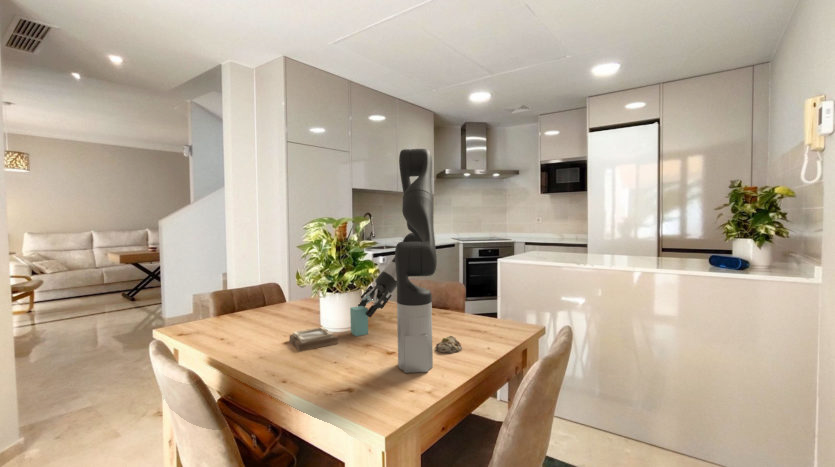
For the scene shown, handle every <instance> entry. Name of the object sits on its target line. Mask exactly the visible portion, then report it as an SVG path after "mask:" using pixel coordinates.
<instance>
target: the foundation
mask: <svg viewBox="0 0 835 467" xmlns="http://www.w3.org/2000/svg"><path fill="white" fill-rule="evenodd" d="M289 342H290V343H291V344H292V345H293V347H295V348H296V349H297V350H298V351H299V352H304V351H308V350H312V349H313V350H314V349H317V348H323V347H328V346H333V345H338V344H339V337H337V336H336V335H335V334H334V333H332V331H329V330H328V329H327V328H325V327H323V326H322V327H321V326H320V327H315V328H309V329H305V330H304V329H303V330H298V331H293V333H292V334H289Z"/></svg>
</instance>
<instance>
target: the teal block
mask: <svg viewBox="0 0 835 467" xmlns="http://www.w3.org/2000/svg"><path fill="white" fill-rule="evenodd" d="M357 306H358V305H357ZM357 306H352V307H350V310H349V311H350V313H349V314H350V334H351V333H352V335H353V336H355V337H361V336H366V335H369V317H368V316H367V315H366V312H367V311H368V309H369V308H368V307H366V306H365V307H364V306H358V307H357Z"/></svg>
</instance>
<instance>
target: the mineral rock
mask: <svg viewBox="0 0 835 467" xmlns="http://www.w3.org/2000/svg"><path fill="white" fill-rule="evenodd" d="M435 349H436V351H439V352H440V353H449V354H455V353H458V352H462V349H463V347H462V345H461V343H460V342H459V341H458V340H457V338H456V337H454V336H453V335H452V336H451V335H450V336H447V337H443V338H442V339H441V341H439V342H438V343H436V344H435Z"/></svg>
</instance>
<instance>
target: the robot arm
mask: <svg viewBox="0 0 835 467" xmlns="http://www.w3.org/2000/svg"><path fill="white" fill-rule="evenodd" d="M398 156H399V158H398V160H399V161H398V163H399V164H398V165H399V173H400V180H401V187H402V193H403V195H402V215H403V217H404V219H405V221H406V226H407V227H406V228H407V229H408V230H409V231H410V232H409V233H408V234H407V235H406V236H405V237H404V238H403V240H402V241H399V242H398V243H396V246H395V249H394V257H393V259H392V260H391V261H390V262H389V263H388V264H387V265H386V266H385V267H384V269H382V271H381V272H380V273H379V275H378V276H377V277H378V278H377V277H376V279H375V280H374V282H375V284H376V285H375V286H373V285H371V284H370V285H369V286H368V287H367V289H366V290H365V291H366V292H365V291H364V292H363V293H362V295H361V296H360V297H361V298H360V299H361V300H360V302H359V303H360V304H359V303H358V304H357V306H364V307H366V306H367V305H368V304H369V303H372V304H371V306H370V307H369V308H368V311H367V312H366V315H367V316H368V318H372V317H373V315H374V314H375V313H376V311H377V310H379V309H383V308H384V307H385V306H386V305H387V303H388V301H389V300H390V299H391V297H392V296H393V295H392V293H393V292H394V291H395V290H396V315H397V316H396V320H397V321H396V324H397V325H396V326H397V358H398V359H397V363H398V364H397V366H398V369H400V371H401V370H402V371H403V373H406V374H407V373H428V372H429V370H431V369H432V368H433V365H434V364H433V363H434V362H433V360H434V359H433V358H434V357H433V351H434V350H433V315H432V314H433V309H432V308H433V306H432V301H433V299H432V297H433V295H432V291H431V290H429V289H428V288H426V287H425V288H424V287H422V286H420V285H417V284H414V283H413V282H412V281H410V279H409V277H431V276H433V275H434V274H435V272H436V270H437V264H438V263H437V261H438V260H437V258H438V257H437V249H436V240H435V232H434V201H433V200H434V198H433V188H432V175H433V158H432V153H431V152H430V150H429V149H427V148H408V149H407V148H405V149H402V150H401V151H400V153H399V155H398ZM410 177H417V178H416V179H414V181H413V182H411V178H410Z"/></svg>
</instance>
